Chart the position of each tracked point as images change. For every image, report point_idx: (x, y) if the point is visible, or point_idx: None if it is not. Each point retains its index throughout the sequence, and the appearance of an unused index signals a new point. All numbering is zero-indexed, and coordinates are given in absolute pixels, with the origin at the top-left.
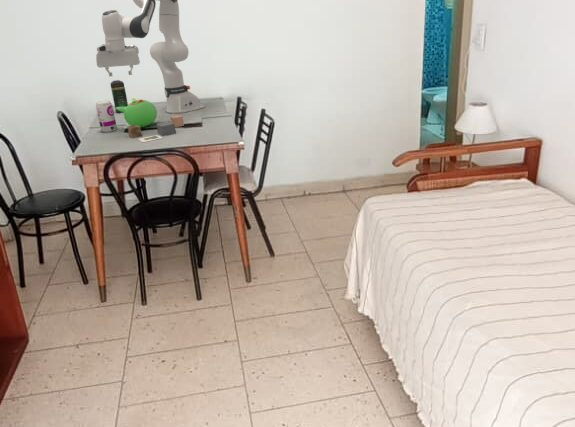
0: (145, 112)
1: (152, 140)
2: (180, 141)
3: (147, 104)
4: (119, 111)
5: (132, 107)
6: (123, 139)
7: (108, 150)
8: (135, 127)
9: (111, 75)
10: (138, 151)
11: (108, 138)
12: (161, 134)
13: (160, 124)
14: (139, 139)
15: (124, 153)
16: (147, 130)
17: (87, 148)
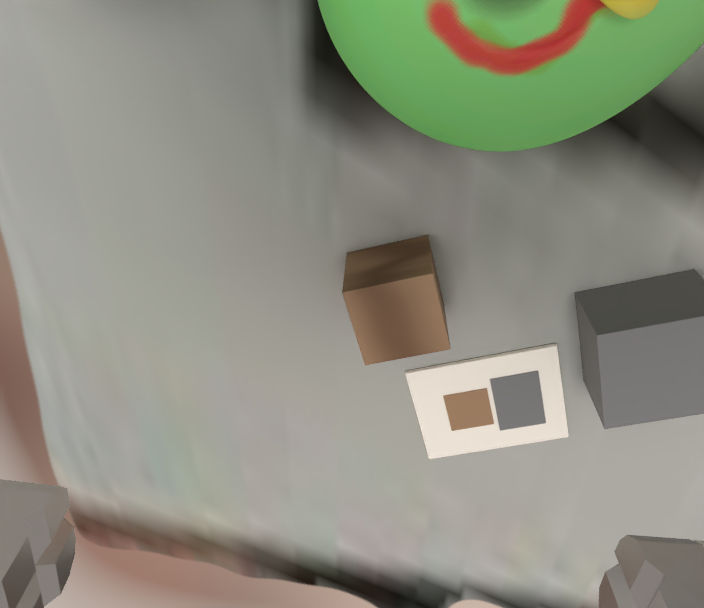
0: (581, 132)
1: (494, 445)
2: (639, 535)
3: (684, 38)
4: None
5: (444, 99)
6: (303, 314)
7: (224, 492)
8: (410, 353)
9: (50, 581)
10: (389, 577)
11: (178, 219)
12: (584, 366)
13: (622, 369)
14: (415, 394)
15: (317, 572)
16: None
17: (76, 395)
